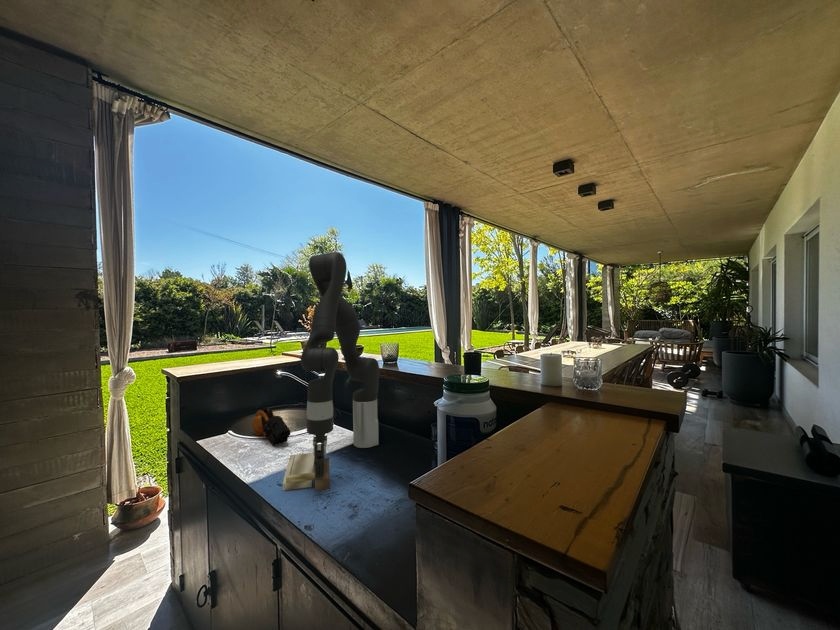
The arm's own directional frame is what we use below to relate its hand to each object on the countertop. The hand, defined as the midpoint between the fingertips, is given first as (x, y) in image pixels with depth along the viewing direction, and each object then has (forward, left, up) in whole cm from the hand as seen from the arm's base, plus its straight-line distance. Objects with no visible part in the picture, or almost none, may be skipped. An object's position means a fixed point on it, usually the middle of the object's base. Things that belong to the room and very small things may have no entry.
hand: (320, 470), depth 101 cm
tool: (+20, -42, -5) cm, 47 cm away
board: (+6, -10, -5) cm, 13 cm away
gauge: (+3, 0, -5) cm, 6 cm away
